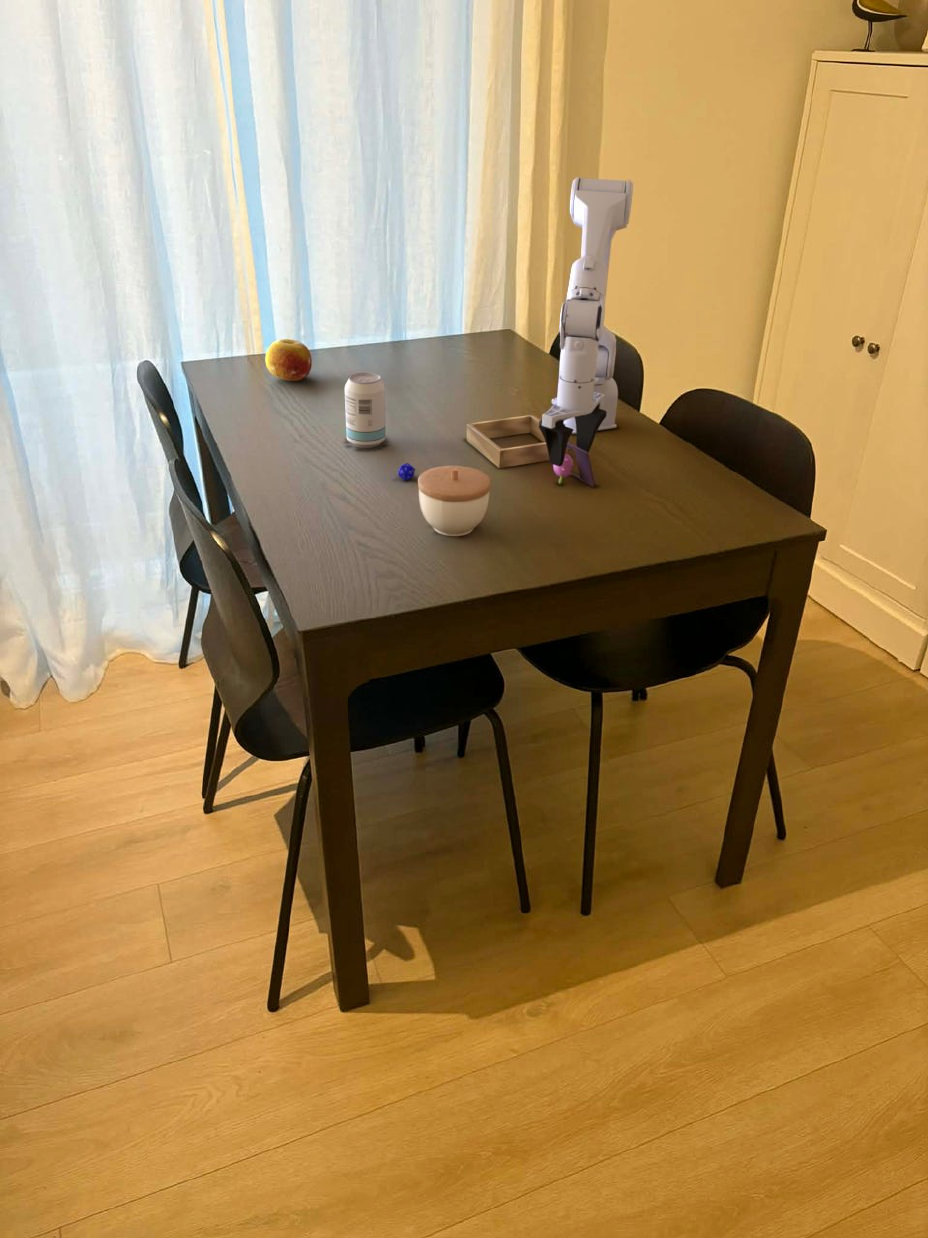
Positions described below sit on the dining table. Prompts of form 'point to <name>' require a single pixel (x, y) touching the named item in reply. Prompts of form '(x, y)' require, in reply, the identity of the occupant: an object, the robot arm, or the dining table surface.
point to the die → (406, 471)
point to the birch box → (506, 427)
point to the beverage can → (365, 409)
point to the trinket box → (453, 498)
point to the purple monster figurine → (582, 463)
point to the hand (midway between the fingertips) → (569, 457)
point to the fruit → (288, 360)
